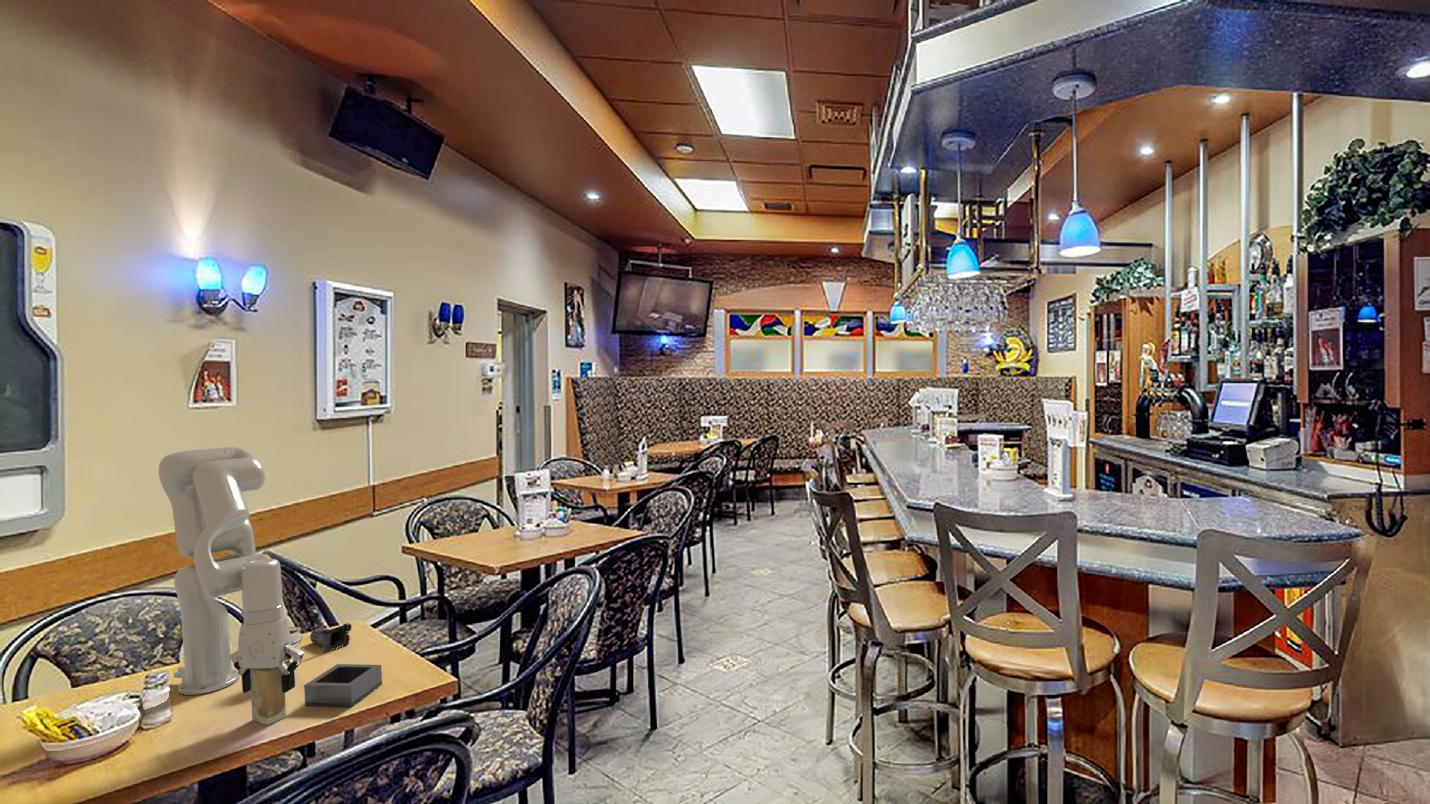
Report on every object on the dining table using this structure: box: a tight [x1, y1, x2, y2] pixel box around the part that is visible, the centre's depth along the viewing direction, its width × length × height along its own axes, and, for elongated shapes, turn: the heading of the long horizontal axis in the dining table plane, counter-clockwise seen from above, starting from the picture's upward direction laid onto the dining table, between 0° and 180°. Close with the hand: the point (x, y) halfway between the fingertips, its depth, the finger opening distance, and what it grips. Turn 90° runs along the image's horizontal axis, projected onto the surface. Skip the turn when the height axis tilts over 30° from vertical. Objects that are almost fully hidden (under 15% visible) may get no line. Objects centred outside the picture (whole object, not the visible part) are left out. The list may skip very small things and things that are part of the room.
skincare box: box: [250, 667, 287, 726], centre depth 155 cm, size 6×4×12 cm
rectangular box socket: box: [303, 663, 383, 708], centre depth 166 cm, size 12×12×5 cm
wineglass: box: [286, 626, 303, 679], centre depth 177 cm, size 7×7×12 cm
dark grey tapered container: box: [309, 622, 353, 653], centre depth 198 cm, size 9×8×12 cm
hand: (269, 690), depth 154 cm, fingers open, 9 cm apart
